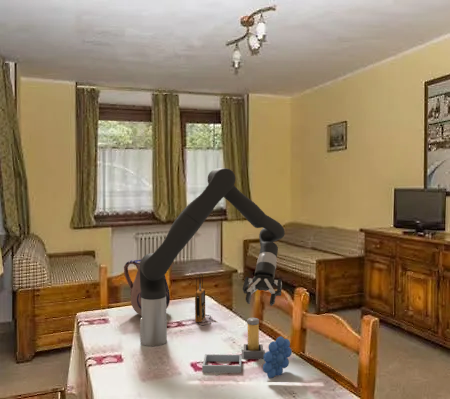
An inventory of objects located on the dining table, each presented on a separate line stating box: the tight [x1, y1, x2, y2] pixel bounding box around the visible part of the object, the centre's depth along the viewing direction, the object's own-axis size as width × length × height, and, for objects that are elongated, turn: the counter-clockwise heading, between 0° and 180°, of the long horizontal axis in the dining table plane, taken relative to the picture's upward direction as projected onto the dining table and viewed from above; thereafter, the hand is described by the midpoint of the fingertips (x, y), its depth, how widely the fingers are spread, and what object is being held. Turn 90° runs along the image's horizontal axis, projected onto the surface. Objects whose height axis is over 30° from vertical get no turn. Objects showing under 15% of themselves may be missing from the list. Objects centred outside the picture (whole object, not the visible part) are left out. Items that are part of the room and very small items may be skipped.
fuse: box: [246, 317, 260, 351], centre depth 145 cm, size 4×4×12 cm
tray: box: [201, 353, 242, 374], centre depth 136 cm, size 12×9×3 cm
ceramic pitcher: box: [123, 258, 171, 317], centre depth 194 cm, size 18×21×25 cm
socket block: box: [241, 343, 266, 360], centre depth 145 cm, size 8×8×3 cm
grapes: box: [262, 336, 293, 379], centre depth 131 cm, size 12×7×12 cm, turn 128°
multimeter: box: [194, 273, 218, 326], centre depth 185 cm, size 15×10×20 cm
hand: (259, 303), depth 154 cm, fingers open, 8 cm apart
